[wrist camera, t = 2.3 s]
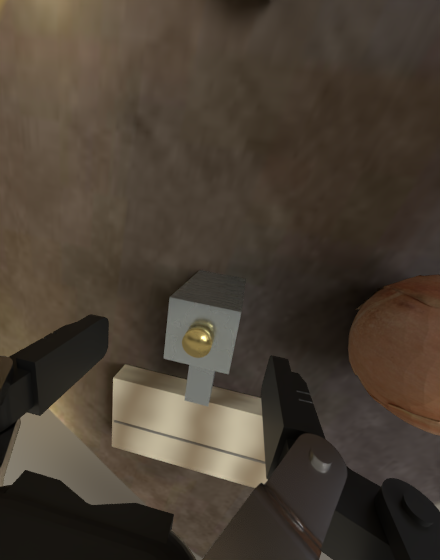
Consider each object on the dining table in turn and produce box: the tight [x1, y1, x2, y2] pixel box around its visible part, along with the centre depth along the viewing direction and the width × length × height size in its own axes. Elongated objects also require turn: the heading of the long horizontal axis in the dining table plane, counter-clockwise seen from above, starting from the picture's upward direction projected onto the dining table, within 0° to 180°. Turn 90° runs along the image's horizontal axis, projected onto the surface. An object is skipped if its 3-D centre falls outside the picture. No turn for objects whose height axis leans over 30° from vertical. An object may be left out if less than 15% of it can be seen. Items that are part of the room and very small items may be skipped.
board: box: [112, 365, 268, 488], centre depth 22 cm, size 19×9×2 cm, turn 81°
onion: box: [348, 275, 440, 436], centre depth 13 cm, size 10×9×10 cm
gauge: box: [164, 270, 246, 406], centre depth 16 cm, size 4×10×8 cm, turn 171°
